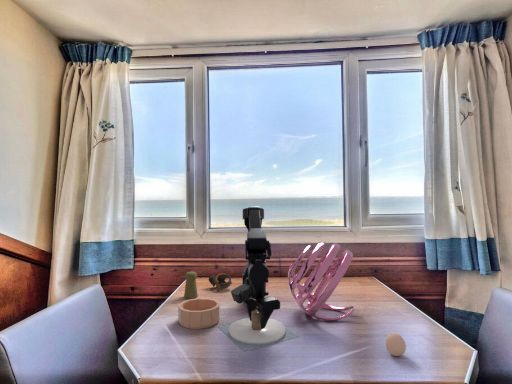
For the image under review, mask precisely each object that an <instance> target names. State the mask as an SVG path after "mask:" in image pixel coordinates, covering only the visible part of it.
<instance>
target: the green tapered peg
mask: <svg viewBox="0 0 512 384" xmlns="http://www.w3.org/2000/svg"><path fill="white" fill-rule="evenodd" d="M197 277H198V273H197V272H196V271H187V272H186V273H185V274H184V278H185V287H184V293H183V294H184V295H183V298H184V299H186V300H191V299H197V298H199V295H198V286H197V280H196V279H197Z"/></svg>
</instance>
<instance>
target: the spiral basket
mask: <svg viewBox="0 0 512 384" xmlns="http://www.w3.org/2000/svg"><path fill="white" fill-rule="evenodd" d="M325 245H326V242H325V241H320V242H318V243H317V244H316V245H315V246H314V248H313V250H312V251H311V252H310V254H309V255H308V257H307V258H306V260H305V261H304V263H303V264H302V266H301V267H300V269H299V270H298V271H297V273H296V274H295V271H296V269H297V268H298V266H299V265H300V263H301V262H302V261H303V259H304V257H305V255H306V254H307V253H308V251H309V250H310V248H311V247H312V244H308V245H307V246H305V247H304V249H303V250H302V252H301V253H300V254H299V256H298V258H297V259H296V260H295V262H291V264H290V265H289V268H288V273H287V279H288V290H289V293H290V295H291V296H292V299H293V300H294V303H295V304H296V306H297V307H298V308H300V309H301V310H302V311H303V312H304V313H305V314H306V315H308V316H309V317H312V318H315V319H318V320H319V321H320V320H321V321H326V322H335V321H340V320H343V319H346V318H347V317H349V316H350V315H352V314H353V312H354V311H355V309H354V308H355V307H354V306H353V305H352V306H346V307H341V306H340V307H339V306H335V305H331V304H327V303H326V302H327V301H328V300H329V298H331V295H332V294H333V293H334V292H335V290H336V289H337V287H338V285H340V282H341V280H342V279H343V277H344V275H346V272H347V270H348V269H349V267H350V264H351V262H352V259H353V257H354V254H353V253H352V251H350V250H349V249H345V250H344V251H343V252H342V253H341V254H340V255H339V256H338V258H336V256H337V254H338V252H339V250H340V248H341V246H340V244H338V243H335V242H334V243H332V244H331V245H330V246H329V247H328V248H327V250H326V251H325V253H323V255H322V256H321V258H320V259H319V260H318V262H317V263H316V265H315V266H314V268H313V269H312V271H310V274H309V275H308V276H307V278H306V280H305V281H304V282H303V284H301V281H302V280H303V278H304V277H305V276H306V274H307V273H308V271H309V270H310V269H311V267H312V265H313V264H314V262H315V261H316V259H317V257H319V254H320V253H321V252H322V250H323V248H324V247H325ZM335 258H336V260H335V261H334V259H335ZM333 261H334V263H333ZM332 263H333V264H332ZM330 266H331V267H330ZM328 269H329V270H328ZM291 278H292V279H291ZM296 288H297V291H298V293H297V294H296V293H295V289H296ZM315 288H316V289H315ZM314 290H315V291H314ZM306 300H307V304H306V307H305V306H304V305H303V304H304V303H305V301H306ZM322 308H323V309H325V310H328V309H331V310H330V311H334V310H336V311H335V312H343V311H348V312H347V313H345V314H343V315H341V316H337V317H324V316H320V315H318V314H317V313H318V312H319V311H320V310H321V309H322ZM349 310H350V311H349Z"/></svg>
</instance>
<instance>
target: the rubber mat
mask: <svg viewBox="0 0 512 384" xmlns="http://www.w3.org/2000/svg"><path fill="white" fill-rule="evenodd" d="M231 324H232V323H230V324H227V325H221V326H218V327H217V328H218V329H219V330H220V331H221V332H222V333H224V335H226V336H227V337H228V338H229V339H230V340H231V341H232V342H233V343H234V344H235V345H236V346H238V348H240V349H241V350H242V351H243V353H245V352H248V351H251V350H256V349H259V348H262V347H266V346H269V345H273V344H274V345H275V344H277V343H282V342H284V341H288V340H293V339H296V338H300V335H298V334H296V333H295V332H292V330H289V329H288V328H286V327H285V336H284V337H283V338H282V339H280V340H278V341H276V342H273V343H269V344H262V345H252V344H245V343H241V342H238V341H236V340H234V339H232V338H231V337H230V335H229V327H230V325H231Z"/></svg>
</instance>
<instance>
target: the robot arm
mask: <svg viewBox="0 0 512 384" xmlns="http://www.w3.org/2000/svg"><path fill="white" fill-rule="evenodd" d="M264 219H265V209H264V208H262V207H261V206H260V205H255V206H252V205H251V206H247V207H245V208H242V220H243V221H244V223H243V224H244V226H245V228H246V229H247V234H246V239H245V240H244V255H245V256H244V257H245V260H247V264H245V267H244V269H243V273H242V280H241V281H242V284H241V285H238V286H237V287H235V288H233V289H231V290H230V294H231V297H232V300H233V301H234V302H236V303H237V305H240V304H242V303H243V304H244V305H245V308H246V311H247V315H248V318H249V319H250V321H251V312H252V311H254V310H257V311H258V312H259V316H260V325H261V329H264V328H265V326H266V324H267V322H268V320H269V318H270V317H271V316H272V314H273V313H274V311H276V310H280V309H281V301H280V300H279V299H278V298H275V296H272V295H271V296H269V291H267V286H266V285H267V283H269V276H270V271H269V269H268V266H267V261H266V260H271V257H272V246H271V245H272V244H271V242H270V240H269V239H268V238H267V234H266V232H265V231H263V229H262V225H263V220H264ZM270 319H271V318H270Z"/></svg>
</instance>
